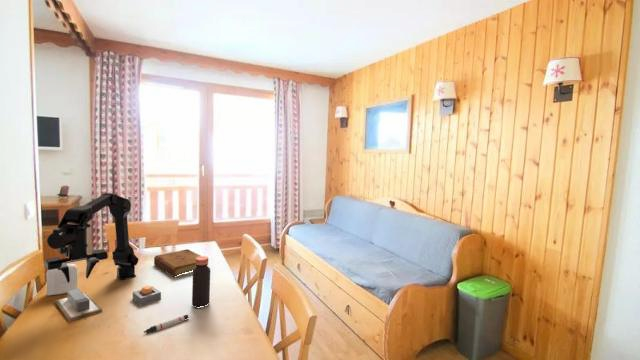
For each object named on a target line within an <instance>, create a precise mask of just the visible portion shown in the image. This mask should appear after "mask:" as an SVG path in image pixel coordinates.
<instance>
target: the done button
mask: <svg viewBox="0 0 640 360" xmlns="http://www.w3.org/2000/svg"><path fill="white" fill-rule="evenodd" d="M140 290H141V295H143V296H145V295H148V294H151V293H152V286H151V285H146V286H143V287H141V289H140Z"/></svg>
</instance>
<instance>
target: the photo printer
mask: <svg viewBox="0 0 640 360" xmlns="http://www.w3.org/2000/svg"><path fill="white" fill-rule="evenodd" d="M67 266H68V267H69V277H70V281H69V283H68V282H67V280H66V278H65V276H64V274H63V272H62V270H58V269H52V270H48V269H46V296H53V295H54V296H56V295H61V294H63V295H64V294H67V291H70V290H74V289H78V273H79V272H78V267H77V264H73V263H67Z"/></svg>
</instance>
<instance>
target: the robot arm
mask: <svg viewBox="0 0 640 360" xmlns="http://www.w3.org/2000/svg"><path fill="white" fill-rule="evenodd" d="M131 206H132V203H131V200H130V199H129V198H125V197H122V196H120V195H117V194H116V193H114V192H113V193H112V192H104V193H102V194H101V195H100V196H98V197H96V198H94V199H92V200H91V201H89V202H87V203H86V204H84V205H80V206H79V205H78V206H74V207H71V208H68V209H67V210H66V211H65V212H64V215H63V216H62V218H61V220H60V222H59V224H58V225H57V228H56V229H53V230H52V233H50V234H49V236H48V237H47V239H46V242H47V246H49V247H50V248H51V249H54V250H58V255H64V256H65V257H66V258H60V257H59V256H56V257H50V258H49V257H48V258H46V259H45V260H44V267H45V268H46V270H52V269H58V270H62V272H63V274H64V276H65V278H66V280H67V282H68V283H69V281H70V277H69V267H68V266H67V264H72V263H76V262H81V261H86V269H85V278H86V279H89V277H90V275H91V273H92V271H93V269H94V267H95V266H96V264H97V263H98V264H99V262H100V261H102V260H107V259H108V258H109V254H108V251H106V250H104V249H97V250H92V252H91V253H89V254H88V245H89V244H88V232H87V231H88V229H89V228H91V227H92V226H91V224H90V223H89V222H90V221H91V220H92V219H93V217H94V215H95V214H96V213H98V212H99V211H101V210H103V209H105V208H106V207H107V208H108V209H109V213H110V214H111V216H113V218H114V226H115V238H116V240H115V241H116V248H115V249H114V250H113V251H112V252H111V253H112V260H113V264H114V266H117V268H116V277H117V278H118V279H120V280H121V281H124V280H127V279H132V278H135V277H137V275H136V274H135V273H136V272H135V270H136V269H135V267H136V266H137V264H138V263H139V258H138V257H137V256H136V254H135V251H134V248H133V247H132V246H131V244H130V237H129V236H130V235H129V225H128V215H129V214H130V212H131Z"/></svg>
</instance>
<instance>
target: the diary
mask: <svg viewBox="0 0 640 360" xmlns="http://www.w3.org/2000/svg"><path fill="white" fill-rule="evenodd" d="M200 256H202V255H200V254H198V253H196V252H195V251H192V250H190V249H182V250H178V251H177V250H176V251H172V252H168V253H162V254H158V255H155V256H154V258H153V265H154V266H156V267H158V269H160V268H161V270H162V271H163V272H165V273H166V274H168V275H170V276H172V277H173V278H176V277H175V276H177V275H179V274H182V273H185V272H189V271H192V270H194V268H195V267H196V258H197V257H200Z"/></svg>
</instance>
